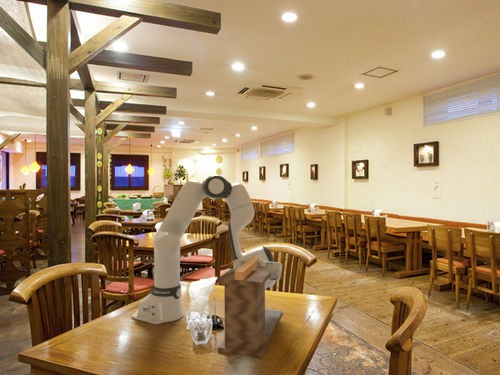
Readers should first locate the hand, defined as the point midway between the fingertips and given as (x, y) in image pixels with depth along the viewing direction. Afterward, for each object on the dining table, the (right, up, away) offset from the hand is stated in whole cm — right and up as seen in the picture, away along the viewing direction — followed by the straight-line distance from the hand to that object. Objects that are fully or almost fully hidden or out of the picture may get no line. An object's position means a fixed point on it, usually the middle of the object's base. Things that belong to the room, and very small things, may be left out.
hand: (253, 261), depth 131 cm
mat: (+3, -28, +10) cm, 30 cm away
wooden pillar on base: (-3, -29, -10) cm, 31 cm away
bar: (-2, -2, -7) cm, 8 cm away
